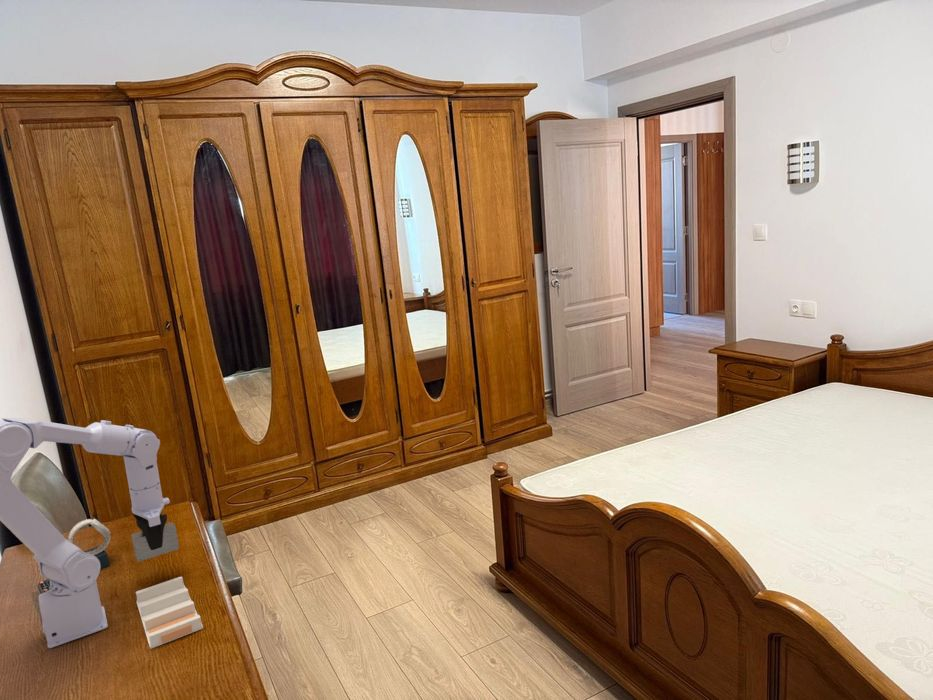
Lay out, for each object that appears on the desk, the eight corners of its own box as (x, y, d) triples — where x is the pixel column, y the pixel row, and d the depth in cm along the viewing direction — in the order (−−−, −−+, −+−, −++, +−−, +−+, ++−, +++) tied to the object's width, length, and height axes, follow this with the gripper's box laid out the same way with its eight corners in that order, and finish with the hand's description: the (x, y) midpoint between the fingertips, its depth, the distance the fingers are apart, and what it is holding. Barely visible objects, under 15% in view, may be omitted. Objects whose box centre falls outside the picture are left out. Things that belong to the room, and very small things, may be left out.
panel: (137, 562, 127) (133, 539, 126) (135, 556, 129) (131, 534, 128) (179, 548, 131) (175, 527, 130) (176, 543, 134) (172, 522, 133)
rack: (150, 650, 110) (148, 638, 109) (136, 602, 124) (134, 592, 123) (203, 629, 114) (201, 617, 114) (184, 586, 129) (182, 575, 128)
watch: (119, 562, 140) (110, 517, 137) (79, 578, 134) (69, 532, 132) (111, 554, 144) (102, 510, 141) (71, 569, 138) (62, 524, 136)
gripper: (172, 490, 123) (182, 552, 126) (159, 469, 135) (169, 526, 138) (132, 500, 119) (144, 564, 122) (123, 478, 131) (133, 536, 134)
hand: (154, 544), depth 130 cm, fingers closed on panel, 3 cm apart
